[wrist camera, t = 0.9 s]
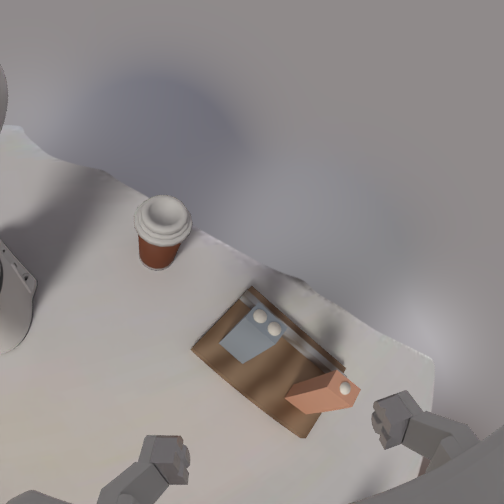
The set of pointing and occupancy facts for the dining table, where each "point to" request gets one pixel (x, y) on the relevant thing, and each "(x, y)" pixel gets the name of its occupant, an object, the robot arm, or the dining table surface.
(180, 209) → the coffee cup
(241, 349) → the tile two
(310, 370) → the board
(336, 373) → the tile one
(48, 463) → the dining table surface
